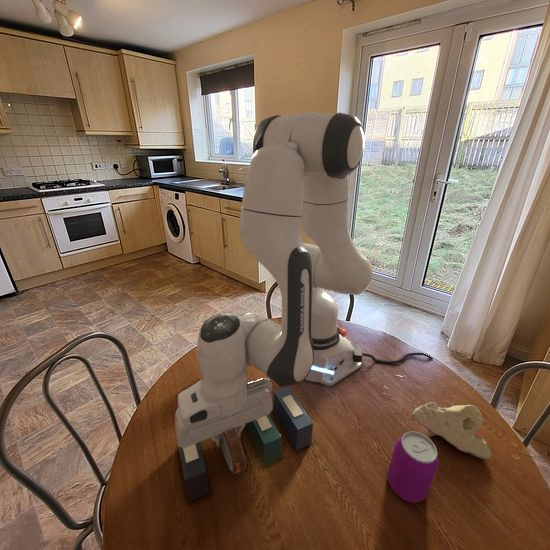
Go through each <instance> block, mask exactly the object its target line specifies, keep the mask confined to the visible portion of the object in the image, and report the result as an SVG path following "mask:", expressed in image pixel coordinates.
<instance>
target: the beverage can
mask: <svg viewBox="0 0 550 550" xmlns="http://www.w3.org/2000/svg"><path fill="white" fill-rule="evenodd" d="M439 465H440V463H439V455H438V449H437V447H436V445H435V443H434V442H433V441H432V439H431V438H429V437H428V436H427V435H426V434H423V433H422V432H418V431H415V430H414V431H413V430H411V431H406V432H405V433H404V434H403V435H402V436H400V437H399V438H398V439H397V441H396V442H395V445H394V449H393V452H392V455H391V459H390V463H389V465H388V469H387V481H388V484H389V486H390V487H391V489H392V491H393V492H394V493H395V494H396V495H397V496H398V497H399V498H401V499H402V500H404V501H406V502H409V503H413V504H414V503H415V504H416V503H417V504H418V503H420V502H423V501H424V500H425V499H426V498H427V496H428V493H429V491H430V488H431V486H432V483H433V481H434V478H435V476H436V473H437V471H438V468H439Z"/></svg>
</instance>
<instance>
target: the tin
mask: <svg viewBox="0 0 550 550" xmlns="http://www.w3.org/2000/svg"><path fill="white" fill-rule="evenodd" d="M221 434H222V437H223V443H224V444H222V445H220V448H221V451H222V454H223V457H224V459H225V462H226V466H227V469H228V470H229V472H230V474H231V475H233V476H235V475H237V474H239V473H242V472H245V471H246V459H245V453H244V450H243V446H242V442H241V439H240V437H238V434H237V432H236V429H235V428H233V429H231V430H228V431H226V432H223V433H221Z"/></svg>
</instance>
